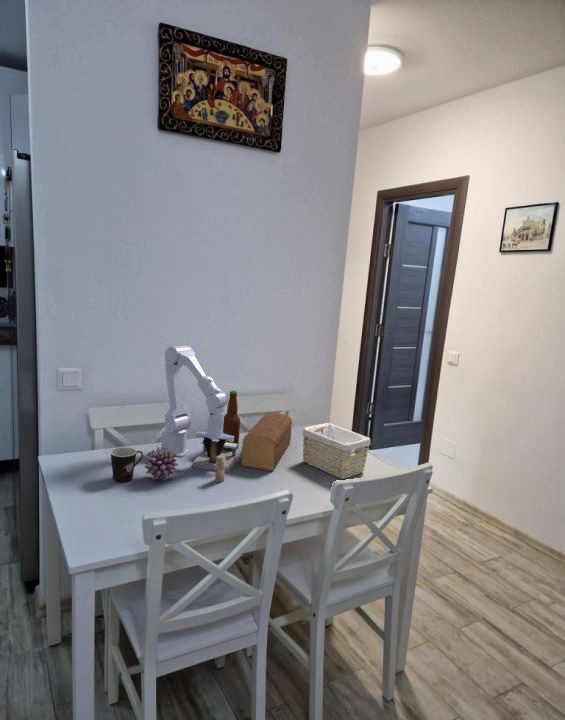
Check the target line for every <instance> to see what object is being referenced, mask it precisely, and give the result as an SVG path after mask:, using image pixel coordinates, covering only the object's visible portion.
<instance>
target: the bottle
mask: <svg viewBox="0 0 565 720" xmlns="http://www.w3.org/2000/svg"><path fill="white" fill-rule="evenodd" d="M228 396H229V398H228V403H227V408H226V410H227V411H226V414H224V422H223V433H224V434H227V435H231V436H234V441H233V442H230V441H226V442H228V443H235V444H238V446H237V447H236V450H238V448H239V444H240V442H239V441H240V431H241V430H240V428H241V417H240V416H239V414H238V409H239V408H238V406H239V405H238V399H237V397H238V391H236V390H230V391H229V395H228ZM222 450H225V451H232V448H226V447H223V449H222Z"/></svg>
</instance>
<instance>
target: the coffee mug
mask: <svg viewBox="0 0 565 720" xmlns="http://www.w3.org/2000/svg"><path fill="white" fill-rule="evenodd" d="M139 453H140V458H139V460H137V461H136V458H137V454H139ZM143 455H144V453H143V451H141V450H136V449H135V448H133V447H118V448H117V447H116V448H114V449H112V450H111V451H110V460H111V470H112V478H113V479H112V480H113V482H115V483H118V484H125V483H129V482H131V481H132V480H133V477H134V472H135V471H134V470H135V467H136V466H138V464H139V463H140V462H141V460H142V458H143Z"/></svg>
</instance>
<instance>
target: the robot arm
mask: <svg viewBox="0 0 565 720" xmlns="http://www.w3.org/2000/svg"><path fill="white" fill-rule="evenodd" d="M164 361H165V364H164V369H165V376H166V384H167V385H166V386H167V395H168V404H169V409H168V411H167V412H166V413H165V415H164V418H165V419H164V428H165V430H164V431H163V432H162V435H161V444H160V449H161V448H163V449H164V450H166V449H167V448H169V449H168V450H169V451H170V453H171V452H172V454H176V456H175V457H184V455H185V454H187V453H188V451H190V449H189V448H187V434H188V431H189V428H190V427H191V425H192V419H191V417H190V414H189V410H188V409H187V408H185V407H184V398H183V390H182V382H181V381H182V380H181V372H180V369H181V368H182V367H183V366H186V367H187V368H188V370H189V371H190V372H191V373H192V374H193V376H194V377H195V379H196V380H197V387H199V389H200V391H201V392H202V394H203V395H204V396H205V399H206V400H205V401H206V406H207V409H208V410H207V411H208V425H207V431H201V430H200V431H196V434H195V438H202V439H203V440H202V441H203V443H204V444H203V446H204V445H205V448H206V451H207V456H208V457H210V442H211V441H212V440H215V441H218V442H217V449H218V451H217V456H219V455H221V453H222V451H223V450H224V449H223V446H224V444H225V443H226V441H230V442H233V441H234V436H231V435H227V434H224V433H223V422H224V416H225V407H226V405H227V406H228V402H229V398H228V395H227V392H225V391H223V390H221V389H220V388H219V387H218V386H217V384H216V383H215V382H214V379H213V378H212V377H211V376H207V375H206V373H205V372H204V370H203V368H202V367H201V365H200V363H199V362H198V360H197V358H196V352H195V351H194V350H193V348H192V346H191V345H189V344H184V345H177V346H169V347H167V348H166V350H165V351H164Z"/></svg>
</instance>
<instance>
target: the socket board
mask: <svg viewBox="0 0 565 720" xmlns="http://www.w3.org/2000/svg"><path fill="white" fill-rule="evenodd" d="M212 441H214V439H212ZM200 444H201V445H202V446H203V448H202V449H203V450H202V452H200V454H199V455H198V456H197V457H196V458H195V459H194V460H193V461H192V468H195V469H203V470H210V471H215V472H216V464H214V463H209V459H210V457H208V456H207V451H206V448H205V445H204V443H203V440H202V441H201V443H200ZM237 446H238V447H239V445H238V444H235V443H228V442H226V443H225V444H224V446H223V447H226V448H232V450H231V451H232V452H231V453H223V452H221V455H222V456H225V457H226V458H225V473H229V472H230V470H231V469H232V467H233V466H234V464H235V463H236V462H237V457H238V455H237V454H236V453H237V449H236V447H237Z"/></svg>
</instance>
